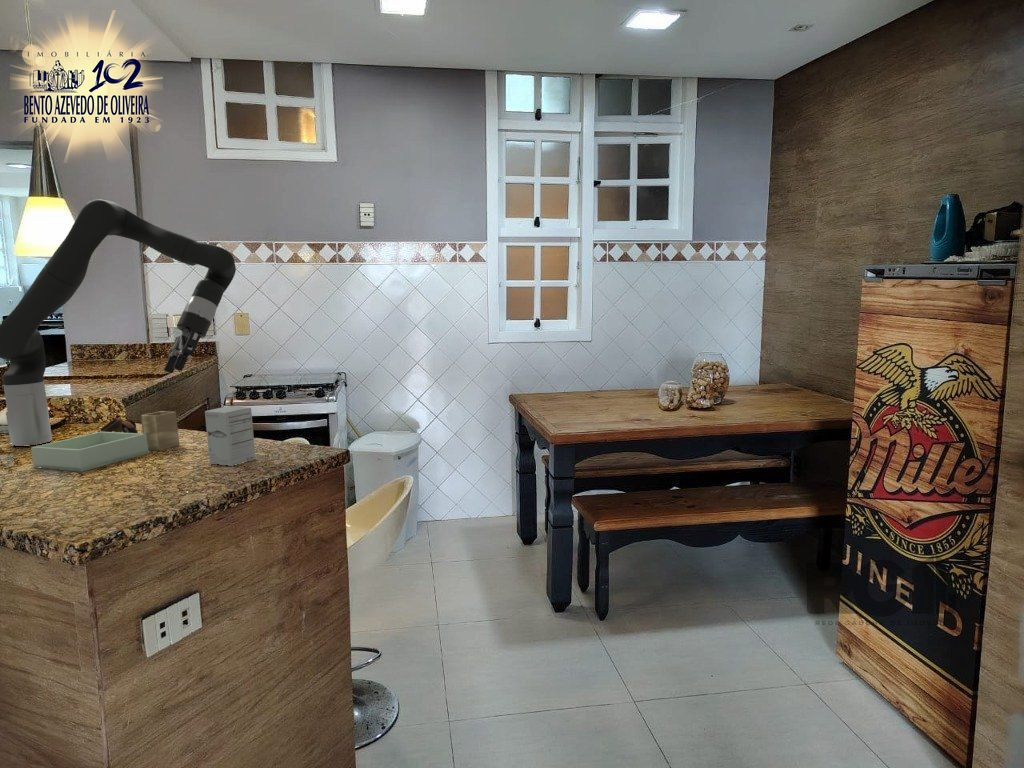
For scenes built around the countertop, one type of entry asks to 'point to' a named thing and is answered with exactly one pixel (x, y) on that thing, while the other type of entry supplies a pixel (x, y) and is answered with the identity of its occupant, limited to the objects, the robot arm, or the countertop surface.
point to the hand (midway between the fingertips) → (172, 370)
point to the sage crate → (89, 451)
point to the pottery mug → (120, 426)
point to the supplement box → (230, 435)
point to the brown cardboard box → (160, 430)
